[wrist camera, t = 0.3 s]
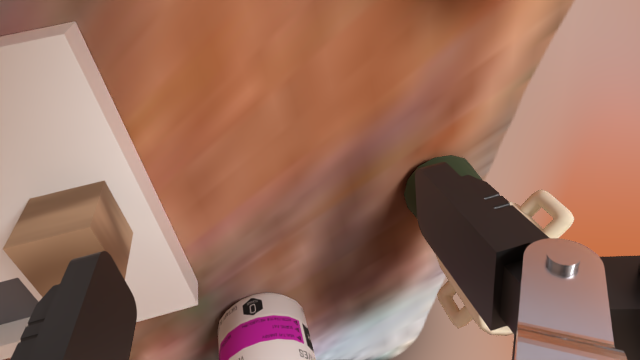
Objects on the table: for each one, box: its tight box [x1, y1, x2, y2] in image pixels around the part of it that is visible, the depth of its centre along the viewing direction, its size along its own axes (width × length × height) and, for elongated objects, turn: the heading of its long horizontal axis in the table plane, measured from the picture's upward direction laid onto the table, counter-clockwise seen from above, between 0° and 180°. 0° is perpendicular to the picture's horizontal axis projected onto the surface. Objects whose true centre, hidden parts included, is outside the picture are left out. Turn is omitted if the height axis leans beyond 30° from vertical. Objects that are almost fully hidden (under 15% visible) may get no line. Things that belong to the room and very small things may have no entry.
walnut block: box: [3, 180, 133, 297], centre depth 26 cm, size 4×4×4 cm
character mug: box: [404, 155, 574, 336], centre depth 31 cm, size 11×7×13 cm, turn 146°
